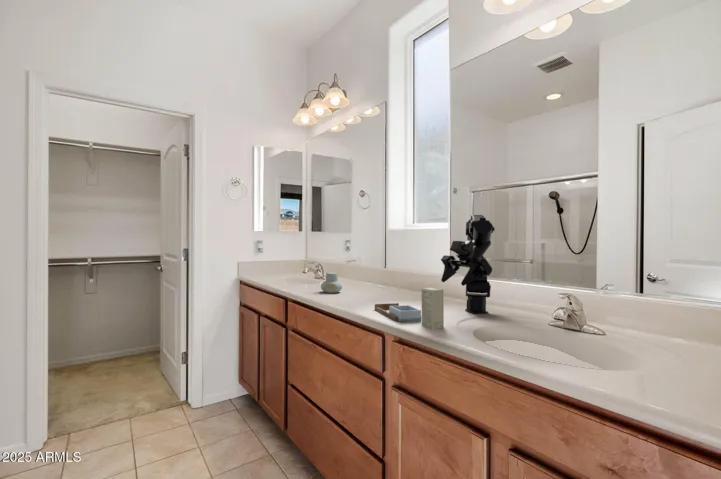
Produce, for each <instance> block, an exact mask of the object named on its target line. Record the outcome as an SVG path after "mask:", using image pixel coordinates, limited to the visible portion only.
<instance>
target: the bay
mask: <svg viewBox="0 0 721 479" xmlns="http://www.w3.org/2000/svg"><path fill="white" fill-rule="evenodd" d="M389 306H400V304H399V303H398V302H392V303H391V302H390V303H389V302H388V303H374V310H375V311H376V312H378V313H380V314H381V315H383V316H385V317H386V318H388V319H390V320H392V321H393V322H398V321H397V317H396V316H394V315H392V314H390V313H389ZM387 310H388V311H387Z"/></svg>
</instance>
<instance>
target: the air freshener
mask: <svg viewBox="0 0 721 479" xmlns="http://www.w3.org/2000/svg"><path fill="white" fill-rule="evenodd" d="M320 289H321V291H323V292H324V293H327V294H336V293H339V292H341V290H342V289H343V284H342V283H341V282H340V281H339V280H338V273H337V272H326V273H325V281H323V282H322V283H321V284H320Z"/></svg>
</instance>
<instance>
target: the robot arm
mask: <svg viewBox="0 0 721 479" xmlns="http://www.w3.org/2000/svg"><path fill="white" fill-rule="evenodd" d="M495 230H496V229H495V226H494V225H493V223H491V221H490V220H489V219H488V220H487V218H486V217H485V215H482V214H472V215H470V219H468V221H466V223H465V236H467V237H466V241H462V240H453V241H452V242H451V246H450V248H449V251H450V252H454V253H455V254H456V255H455V256H456V257H457V258H458V259H456V258H455V256H454V255H446V254H445V255H443V256H442V257H441V259H440V261H441V262H442V264H443V265H444V268H443V273H442V276H441V279H440V280H441V283H445V282H446V281H448V280H449V279H450V278H452V277H453V276H455V275H456V274H457V271H459V270H460V267H464V268H465V269H468V271H467V272H466V274H465V276H464V277H463V279H462V281H461V283H460V285H461V286H463V287H464V286H465V297H467V299H466V308H465V309H464V311H466V312H468V313H471V314H475V315H476V314H489V311H488V310H487V299H488V298H490V297H491V288H492V286H491V284H490V281H489V280H488V276H490V275H491V273H492V272H493V267H492V266H491V264H490V262H489V261H488V260H487V258H486V257H485V256H484V255H485V253H486V252H487V251H488V249H490V248H489V247H490V246H492V245H491V244H492V242H491V239H492V238H491V237H492V234H493V233H494V232H495Z"/></svg>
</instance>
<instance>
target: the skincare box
mask: <svg viewBox="0 0 721 479" xmlns="http://www.w3.org/2000/svg"><path fill="white" fill-rule="evenodd" d="M444 314H445V312H444V289H442V288H436V287H421V326H423V327H426V328H429V329H432V330H437V329H443V328H444V327H445V326H444V321H445V320H444V318H445V317H444Z"/></svg>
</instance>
